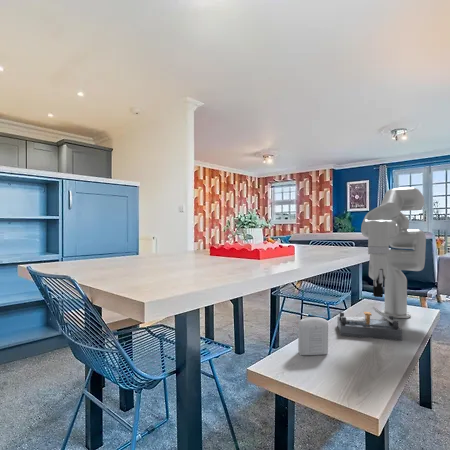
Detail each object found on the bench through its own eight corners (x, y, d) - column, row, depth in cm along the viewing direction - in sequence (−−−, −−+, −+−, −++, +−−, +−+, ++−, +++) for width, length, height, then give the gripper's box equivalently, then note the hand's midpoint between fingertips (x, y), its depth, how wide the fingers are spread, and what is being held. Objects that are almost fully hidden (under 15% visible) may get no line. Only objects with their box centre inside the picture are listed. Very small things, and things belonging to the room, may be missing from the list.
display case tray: (337, 325, 135) (337, 307, 135) (393, 330, 130) (393, 310, 130) (340, 335, 124) (340, 315, 124) (401, 340, 118) (402, 319, 118)
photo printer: (324, 350, 110) (324, 315, 110) (330, 355, 106) (330, 318, 106) (296, 351, 109) (296, 316, 108) (301, 356, 104) (301, 320, 104)
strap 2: (392, 322, 127) (393, 320, 127) (395, 326, 122) (397, 324, 122) (372, 308, 129) (374, 306, 129) (374, 311, 124) (376, 309, 124)
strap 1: (341, 322, 127) (341, 319, 127) (340, 318, 132) (340, 315, 132) (366, 322, 125) (366, 319, 125) (363, 319, 130) (363, 316, 130)
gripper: (364, 249, 134) (364, 292, 134) (372, 252, 119) (371, 300, 119) (384, 249, 132) (383, 293, 132) (393, 252, 117) (393, 301, 117)
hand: (377, 296), depth 125 cm, fingers closed
